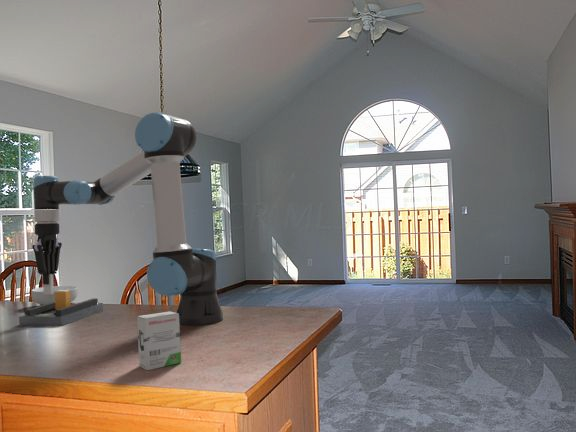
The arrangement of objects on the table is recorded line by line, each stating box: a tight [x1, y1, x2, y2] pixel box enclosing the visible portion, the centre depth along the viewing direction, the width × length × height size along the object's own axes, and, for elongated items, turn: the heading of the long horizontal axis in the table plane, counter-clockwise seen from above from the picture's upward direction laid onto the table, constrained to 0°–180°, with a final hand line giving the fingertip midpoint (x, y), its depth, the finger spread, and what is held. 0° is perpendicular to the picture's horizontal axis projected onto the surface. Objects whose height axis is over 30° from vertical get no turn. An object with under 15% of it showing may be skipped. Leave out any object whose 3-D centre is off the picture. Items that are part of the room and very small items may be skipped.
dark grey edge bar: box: [24, 302, 55, 316], centre depth 190 cm, size 2×23×2 cm, turn 170°
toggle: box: [55, 290, 72, 309], centre depth 189 cm, size 4×3×6 cm
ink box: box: [136, 311, 182, 371], centre depth 127 cm, size 9×5×12 cm, turn 127°
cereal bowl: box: [30, 285, 79, 306], centre depth 215 cm, size 17×17×7 cm
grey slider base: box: [18, 301, 104, 327], centre depth 189 cm, size 15×26×4 cm, turn 170°
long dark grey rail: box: [56, 298, 99, 316], centre depth 188 cm, size 2×23×2 cm, turn 170°
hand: (48, 293), depth 182 cm, fingers closed
